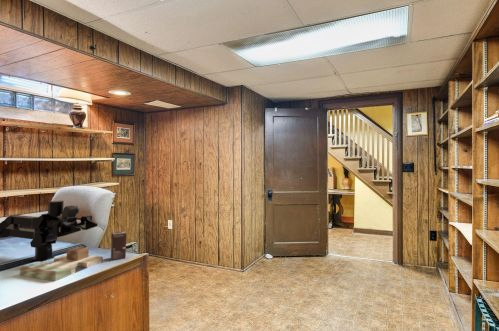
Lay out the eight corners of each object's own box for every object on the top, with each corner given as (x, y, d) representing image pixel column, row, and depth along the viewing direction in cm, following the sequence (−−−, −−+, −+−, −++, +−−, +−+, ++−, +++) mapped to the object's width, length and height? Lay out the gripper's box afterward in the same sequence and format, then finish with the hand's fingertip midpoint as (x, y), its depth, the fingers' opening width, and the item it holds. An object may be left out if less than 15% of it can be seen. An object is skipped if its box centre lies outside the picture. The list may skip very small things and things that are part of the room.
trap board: (19, 275, 119) (19, 266, 119) (71, 256, 142) (71, 249, 142) (55, 281, 114) (55, 271, 114) (102, 261, 137) (102, 253, 137)
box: (112, 260, 138) (112, 234, 138) (110, 257, 142) (111, 232, 142) (126, 258, 142) (126, 232, 142) (124, 255, 146) (124, 231, 145)
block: (66, 259, 133) (66, 250, 133) (77, 255, 139) (78, 246, 138) (77, 260, 131) (77, 251, 131) (88, 256, 137) (88, 247, 137)
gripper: (41, 209, 127) (71, 212, 123) (78, 203, 145) (105, 205, 141) (41, 235, 127) (71, 239, 123) (77, 226, 145) (104, 229, 141)
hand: (89, 227), depth 132 cm, fingers open, 9 cm apart
